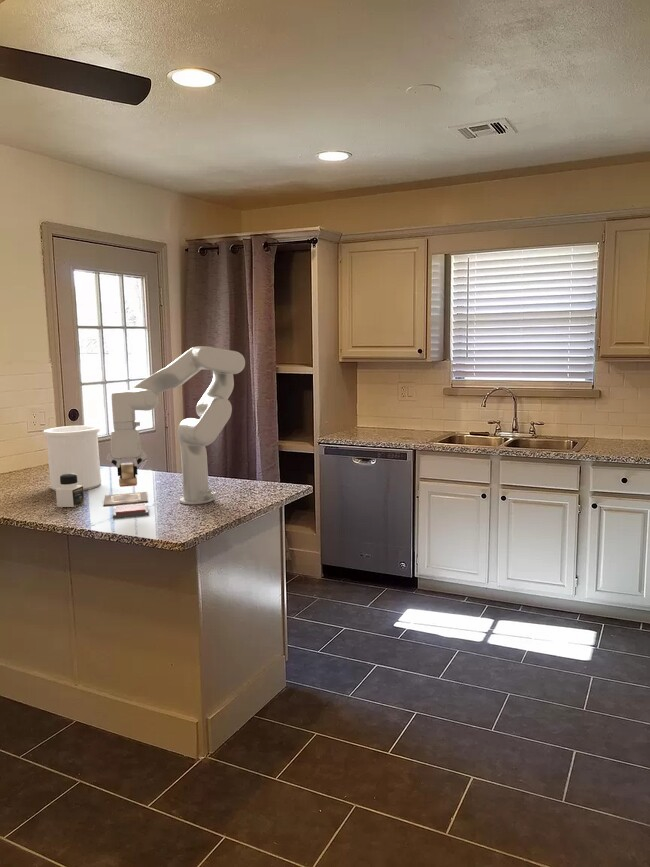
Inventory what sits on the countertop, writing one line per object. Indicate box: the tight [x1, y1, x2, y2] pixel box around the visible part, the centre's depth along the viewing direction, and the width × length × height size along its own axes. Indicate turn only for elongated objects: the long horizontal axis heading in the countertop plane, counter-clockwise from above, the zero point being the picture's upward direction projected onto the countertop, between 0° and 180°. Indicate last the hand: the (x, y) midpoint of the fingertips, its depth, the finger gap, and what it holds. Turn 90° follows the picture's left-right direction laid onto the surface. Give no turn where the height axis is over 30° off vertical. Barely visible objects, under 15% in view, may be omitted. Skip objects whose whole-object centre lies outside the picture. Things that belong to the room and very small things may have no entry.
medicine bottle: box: [55, 474, 85, 508], centre depth 256 cm, size 7×7×12 cm
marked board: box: [103, 491, 149, 507], centre depth 264 cm, size 16×16×1 cm
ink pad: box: [112, 503, 150, 519], centre depth 242 cm, size 12×10×2 cm
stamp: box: [118, 462, 138, 488], centre depth 240 cm, size 6×6×8 cm
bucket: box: [42, 424, 102, 492], centre depth 287 cm, size 26×22×25 cm
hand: (127, 476), depth 240 cm, fingers closed on stamp, 4 cm apart
